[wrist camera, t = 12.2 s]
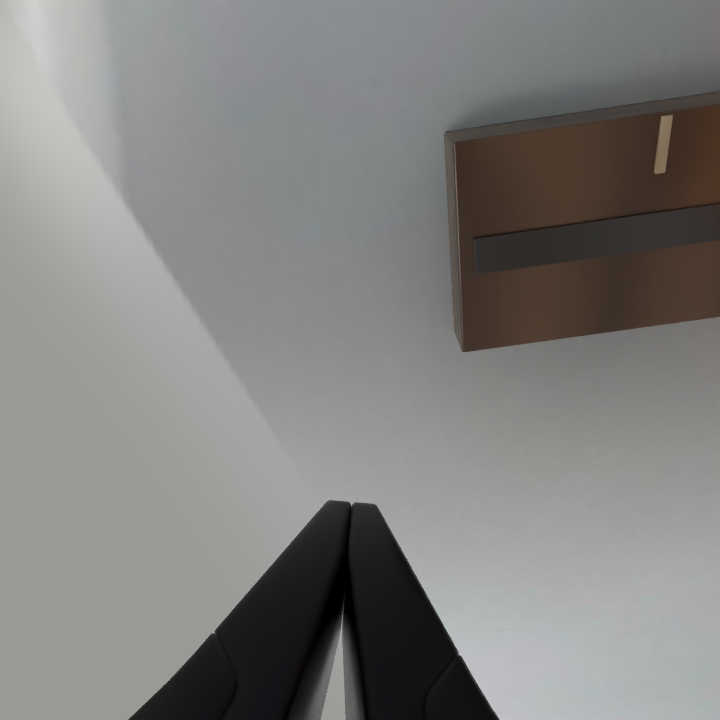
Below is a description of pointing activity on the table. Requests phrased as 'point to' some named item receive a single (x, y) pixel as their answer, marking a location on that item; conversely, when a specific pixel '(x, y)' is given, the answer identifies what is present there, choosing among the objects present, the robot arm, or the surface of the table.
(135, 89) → the table surface
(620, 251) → the rail
